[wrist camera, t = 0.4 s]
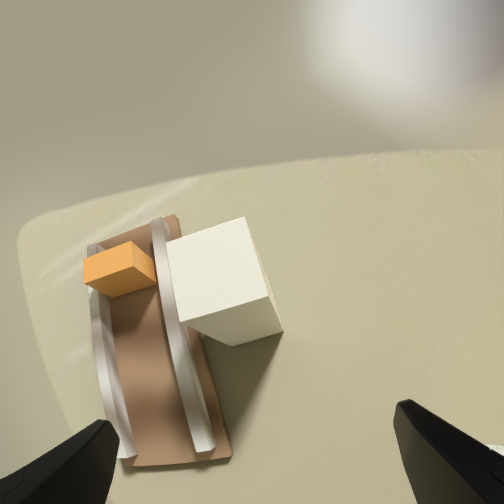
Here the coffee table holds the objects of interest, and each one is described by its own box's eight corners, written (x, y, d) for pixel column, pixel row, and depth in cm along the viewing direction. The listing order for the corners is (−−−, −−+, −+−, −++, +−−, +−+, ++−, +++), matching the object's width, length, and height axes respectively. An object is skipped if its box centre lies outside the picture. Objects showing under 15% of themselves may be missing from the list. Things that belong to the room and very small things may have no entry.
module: (283, 331, 22) (268, 295, 13) (231, 346, 22) (179, 322, 13) (268, 281, 24) (244, 216, 14) (218, 296, 24) (165, 242, 15)
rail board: (233, 453, 19) (224, 462, 16) (130, 464, 19) (113, 470, 17) (178, 219, 27) (167, 204, 25) (96, 250, 27) (81, 239, 25)
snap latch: (157, 283, 23) (133, 265, 20) (112, 298, 24) (84, 283, 20) (154, 261, 24) (130, 240, 21) (110, 276, 24) (83, 259, 21)
